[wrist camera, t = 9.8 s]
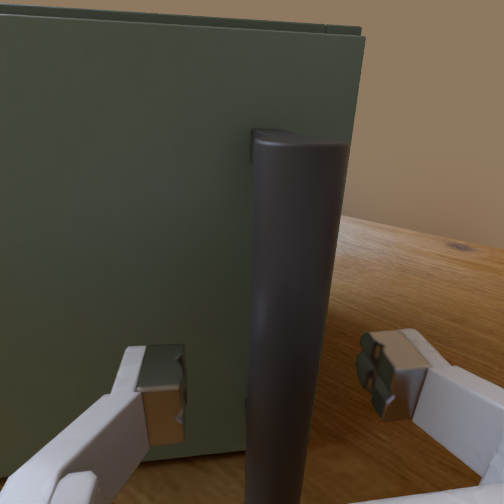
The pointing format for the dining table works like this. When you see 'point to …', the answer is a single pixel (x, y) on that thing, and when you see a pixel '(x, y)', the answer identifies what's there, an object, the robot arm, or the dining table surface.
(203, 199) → the door
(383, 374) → the robot arm
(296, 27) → the housing
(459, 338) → the dining table surface
